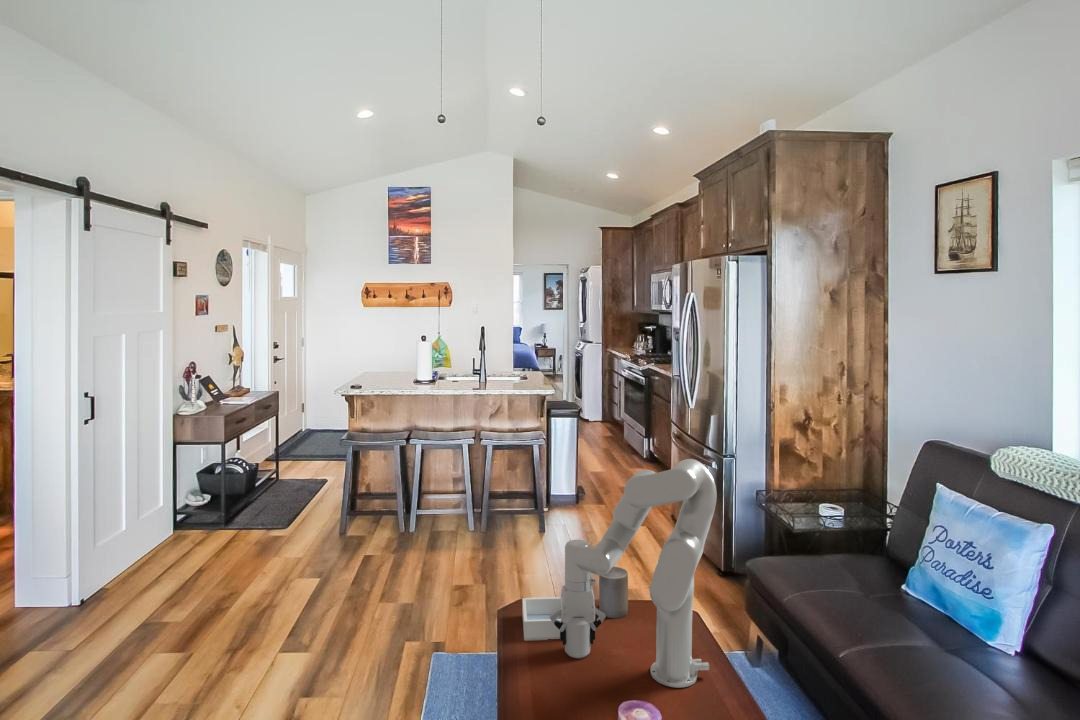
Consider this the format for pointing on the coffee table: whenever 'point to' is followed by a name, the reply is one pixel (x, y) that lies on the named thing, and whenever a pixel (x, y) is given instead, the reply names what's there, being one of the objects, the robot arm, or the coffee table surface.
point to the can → (577, 637)
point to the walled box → (540, 618)
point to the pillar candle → (614, 593)
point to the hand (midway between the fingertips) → (577, 641)
